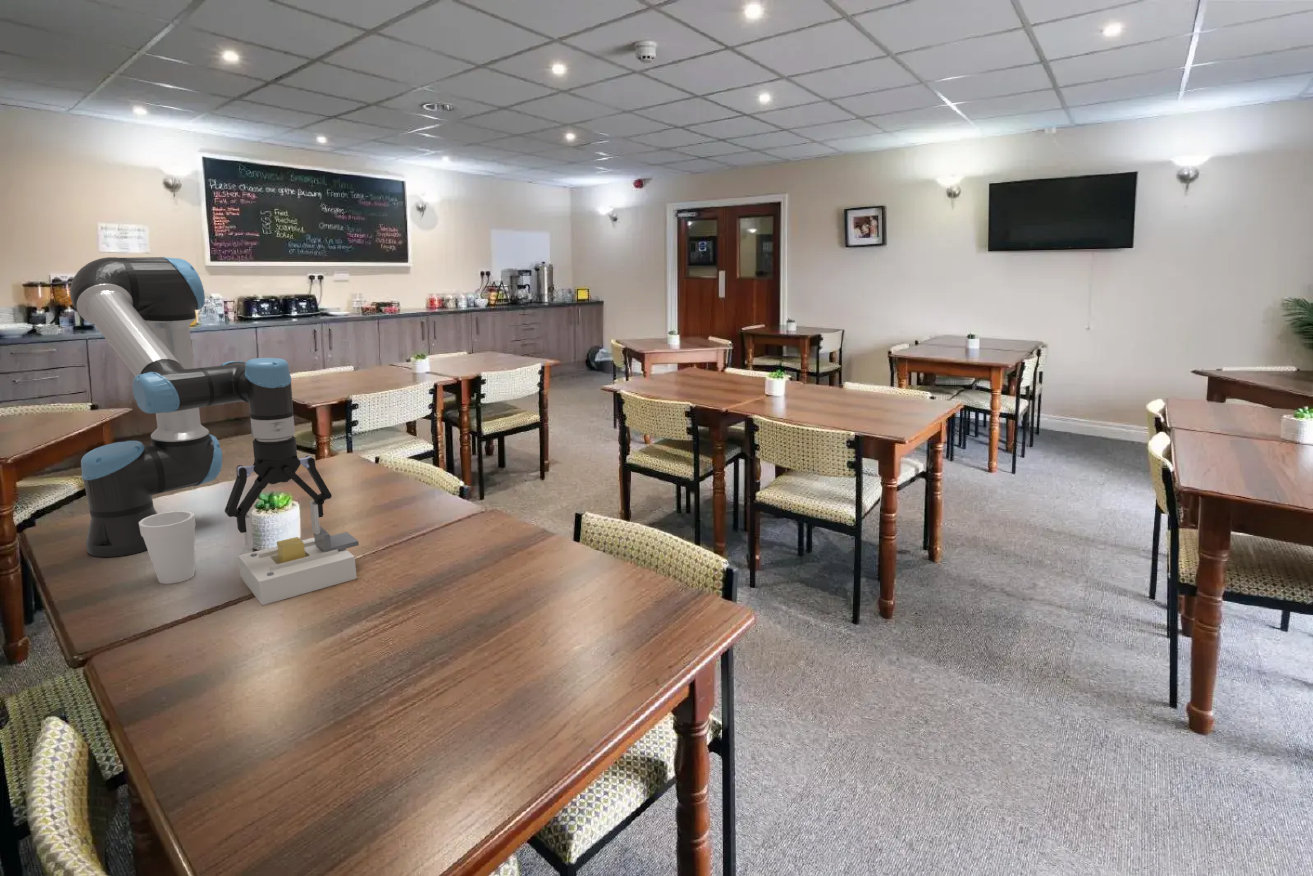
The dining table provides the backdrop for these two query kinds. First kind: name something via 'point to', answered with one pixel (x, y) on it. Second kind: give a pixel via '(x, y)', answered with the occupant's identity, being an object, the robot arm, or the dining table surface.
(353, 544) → the shutter
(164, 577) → the foam cup
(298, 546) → the plug
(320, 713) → the dining table surface
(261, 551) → the socket
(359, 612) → the dining table surface
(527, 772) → the dining table surface
